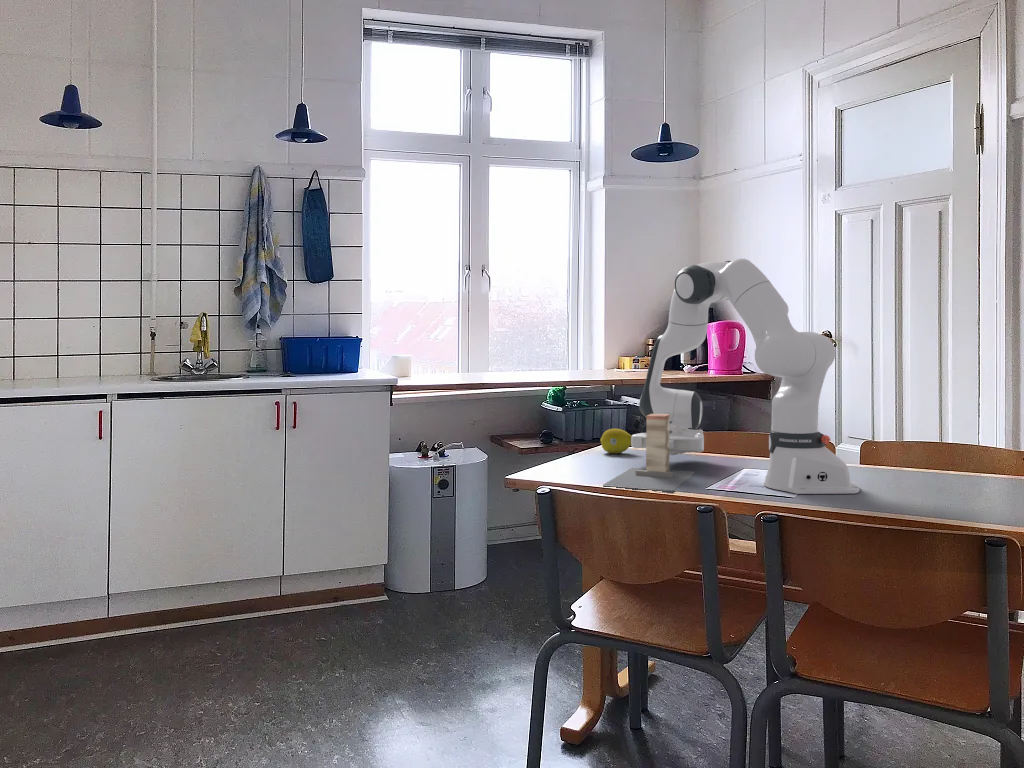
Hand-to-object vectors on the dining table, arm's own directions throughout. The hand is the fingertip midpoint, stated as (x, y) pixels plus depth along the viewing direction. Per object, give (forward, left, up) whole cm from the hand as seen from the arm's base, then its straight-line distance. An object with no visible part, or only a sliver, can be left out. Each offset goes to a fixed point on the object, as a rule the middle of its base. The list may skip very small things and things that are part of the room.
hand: (661, 445), depth 227 cm
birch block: (+1, +3, -7) cm, 8 cm away
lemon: (+15, -34, -8) cm, 38 cm away
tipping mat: (+2, +10, -8) cm, 13 cm away
